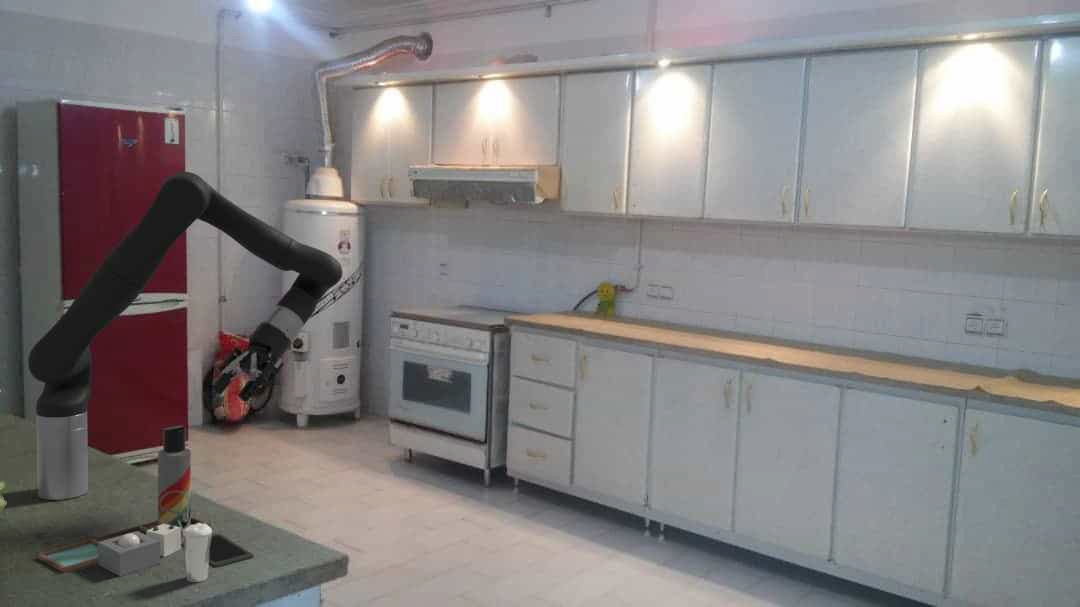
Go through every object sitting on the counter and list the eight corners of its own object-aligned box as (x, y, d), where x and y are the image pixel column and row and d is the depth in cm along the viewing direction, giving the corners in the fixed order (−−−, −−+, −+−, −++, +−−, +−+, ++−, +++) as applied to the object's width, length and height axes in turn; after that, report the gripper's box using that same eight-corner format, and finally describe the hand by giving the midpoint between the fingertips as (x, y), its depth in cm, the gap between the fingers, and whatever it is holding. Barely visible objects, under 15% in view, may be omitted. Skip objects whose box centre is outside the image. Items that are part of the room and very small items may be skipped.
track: (37, 558, 151) (37, 553, 151) (183, 516, 174) (183, 512, 173) (63, 572, 146) (63, 568, 146) (210, 528, 168) (210, 524, 168)
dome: (114, 560, 150) (113, 534, 150) (133, 555, 153) (133, 528, 152) (124, 566, 148) (124, 539, 148) (144, 560, 151) (143, 533, 150)
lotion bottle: (178, 536, 164) (178, 431, 162) (151, 532, 165) (151, 428, 163) (196, 525, 169) (196, 423, 167) (169, 522, 170) (170, 421, 168)
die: (146, 552, 156) (146, 527, 155) (163, 544, 159) (163, 520, 159) (164, 556, 154) (164, 531, 154) (180, 548, 158) (181, 524, 157)
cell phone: (215, 570, 151) (215, 566, 151) (180, 545, 160) (180, 541, 160) (255, 559, 156) (255, 555, 156) (218, 536, 166) (218, 532, 165)
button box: (98, 564, 150) (97, 542, 149) (137, 552, 155) (137, 530, 155) (120, 576, 146) (120, 553, 145) (159, 563, 151) (159, 541, 151)
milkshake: (182, 572, 148) (182, 515, 147) (215, 572, 149) (215, 515, 148) (173, 584, 144) (173, 525, 143) (207, 584, 144) (207, 525, 143)
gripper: (244, 317, 184) (195, 379, 175) (288, 325, 175) (239, 390, 167) (265, 340, 188) (218, 401, 180) (309, 348, 180) (262, 412, 172)
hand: (228, 395), depth 174 cm, fingers open, 8 cm apart
